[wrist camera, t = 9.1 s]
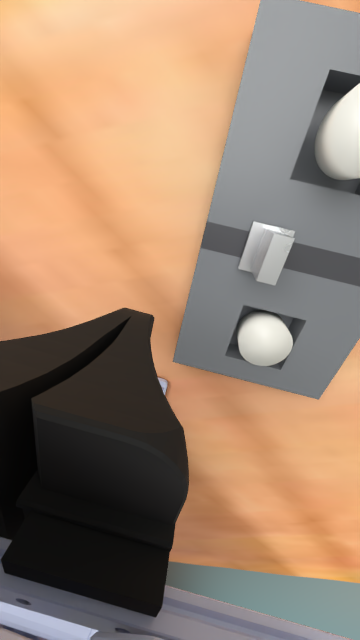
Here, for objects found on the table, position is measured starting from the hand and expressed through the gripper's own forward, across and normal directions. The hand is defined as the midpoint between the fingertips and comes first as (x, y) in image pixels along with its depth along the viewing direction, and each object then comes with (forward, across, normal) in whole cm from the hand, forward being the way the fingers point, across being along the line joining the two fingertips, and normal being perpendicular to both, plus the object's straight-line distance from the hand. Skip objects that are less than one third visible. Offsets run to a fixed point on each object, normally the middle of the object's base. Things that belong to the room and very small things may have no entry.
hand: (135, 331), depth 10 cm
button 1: (+8, -8, +2) cm, 11 cm away
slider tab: (+7, -5, -4) cm, 9 cm away
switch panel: (+9, -8, -4) cm, 13 cm away
